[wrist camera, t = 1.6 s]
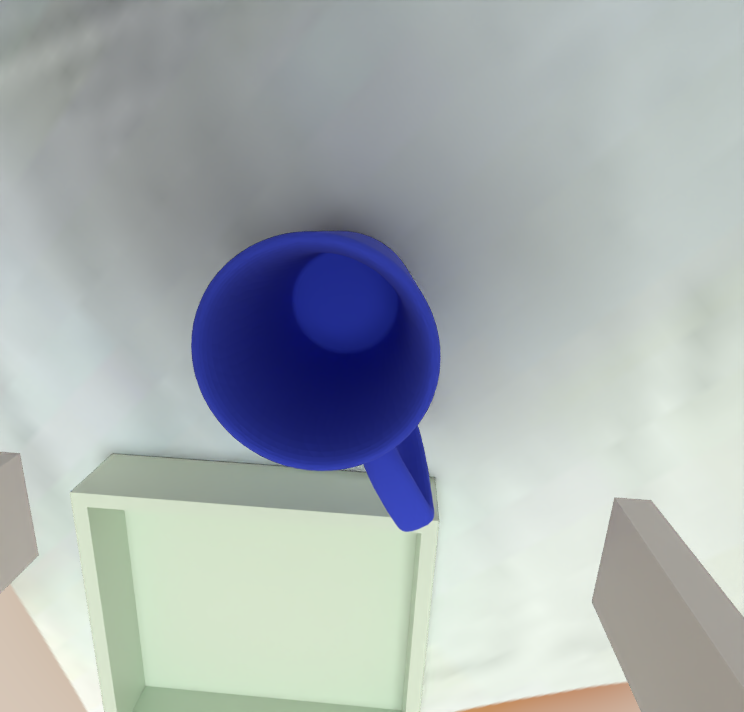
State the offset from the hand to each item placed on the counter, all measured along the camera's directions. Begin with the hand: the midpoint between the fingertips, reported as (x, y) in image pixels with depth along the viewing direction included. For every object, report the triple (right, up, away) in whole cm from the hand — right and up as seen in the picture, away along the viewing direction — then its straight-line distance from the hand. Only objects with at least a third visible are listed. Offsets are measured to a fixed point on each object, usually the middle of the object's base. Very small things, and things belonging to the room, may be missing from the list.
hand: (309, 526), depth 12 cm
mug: (+1, +5, +15) cm, 16 cm away
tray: (-5, -11, +21) cm, 24 cm away
